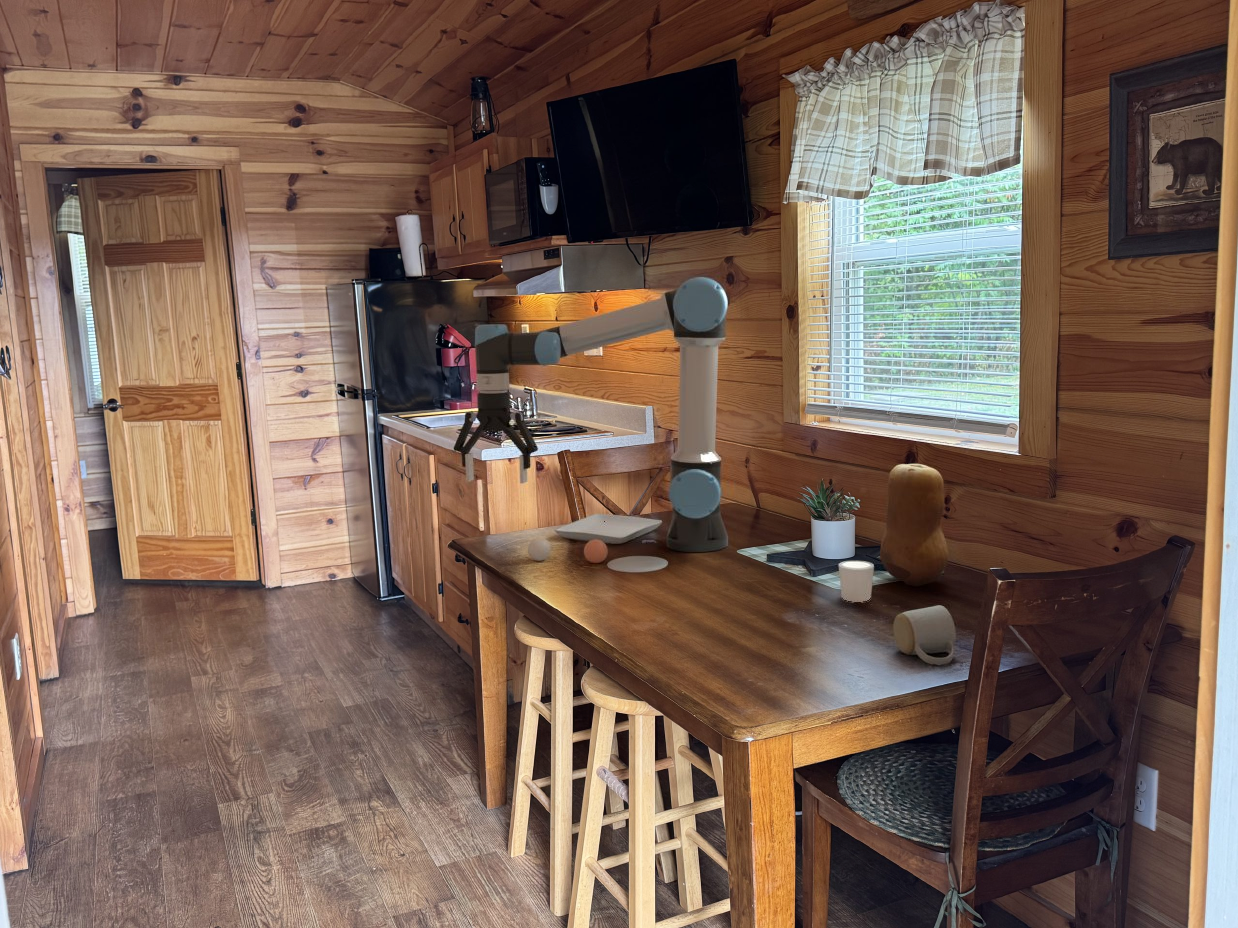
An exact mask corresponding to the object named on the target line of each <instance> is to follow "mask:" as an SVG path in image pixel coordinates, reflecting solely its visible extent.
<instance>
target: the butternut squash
mask: <svg viewBox="0 0 1238 928" xmlns="http://www.w3.org/2000/svg"><path fill="white" fill-rule="evenodd" d="M941 474H942V473H940V472H939V471H938V470H937V469H935V468H933V467H930V466H928V465H925V464H920V463H908V464H907V463H906V464H905V463H902V464H897V465H896V466H894V467H893V468H892V470H891V471H890V472H889V475H888V479H887V486H886V487H887V491H886V492H887V505H886V523H885V524H886V526H885V528H884V529H885V530H884V532H883V536H882V538H881V544H880V550H879V551H880V552H879V553H880V554H879V559H880V561H881V563H882V565H883V567H884V568H885V569H886V572H888V573H889V575H890V576H892V578H894V579H897V580H899V581H901V582H903V583H904V584H905V585H907V586H911V585H912V587H916V586H918V587H920V586H922V585H926V584H931V583H933V582H935V581H936V580H937V579H938V578H939V577H940V575H941V574H942V573H943V572H944V570H945V569H946V566H947V564H948V560H949V549H948V544H947V542H946V541H947V540H946V539H945V535H944V533H943V531H942V526H941V523H942V522H941V520H942V517H943V513H944V506H945V492H944V490H945V488H944V487H945V485H944V483H945V482H944V478H943V476H942V475H941Z"/></svg>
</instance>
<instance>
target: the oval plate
mask: <svg viewBox="0 0 1238 928" xmlns="http://www.w3.org/2000/svg"><path fill="white" fill-rule="evenodd" d="M668 564H669V562H668V561H667V560H666V559H664V558H661V557H657V556H649V555H632V556H625V557H623V556H622V557H619V558H614V559H612V560H610V561H609V562H607V568H609V569H610V570H612V571H616V572H621V573H622V572H624V573H646V572H648V573H649V572H655V571H659V570H661V569H664V568H666V567H667V566H668Z"/></svg>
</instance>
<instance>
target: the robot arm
mask: <svg viewBox="0 0 1238 928" xmlns="http://www.w3.org/2000/svg"><path fill="white" fill-rule="evenodd" d="M728 303H729V302H728V297H727V294H726V291H725V290H724V288H723V287H722V285H721V284H720V283H718V282H717V281H716V280H714V279H713V278H710V277H704V276H697V277H692V278H690V279H687V280H686V281H684V282H682V283H681V285H680V286H679V287H678V288H675V289H673V290H670V291H665V292H663V293H662V295H661V296H660V297H659V298H657V299H652V300H649V301H646V302H642V303H638V304H635V305H634V304H633V305H630V306H627V307H623V308H620V309H616V310H612V311H609V312H605V313H602V314H598V315H594V316H592V317H587V318H583V319H580V320H577V321H576V320H575V321H572V322H569V323H566V324H562V325H558V326H555V327H554V326H553V327H550V328H547V329H542V330H538V331H534V332H530V331H529V332H509V330H508V326H507V325H506V324H502V323H501V324H499V323H498V324H492V323H491V324H479V325H477V326H476V327H475V329H474V353H475V366H476V367H475V369H476V375H475V377H476V390H477V391H479V392H477V394H476V397H477V400H476V402H477V412H474V411H472V410H471V411H467V412H464V413H465V414H464V423H463V425H462V427H461V429H460V432H459V434H458V437H457V438H456V441H455V444H454V446H453V451H455V452H459V453H460V454H461V463H462V467H463V468H465V481H466V482H467V483H469V482H473V481H474V480H475V476H474V475H475V473H474V472H475V471H474V453H473V452H471V450H472V448H473V447H474V446H475V444H476V443H478V441H479V439H480V438H481V437H482V436H483V435H484V433H485V432H487V433H488V432H497V433H499V432H503V433H504V434H505V435H506V436H507V437H508V438H509V439H510V441H511V442H512V443H513V444H514V446H516V448H517V449H518V450H519V452H520V453H521V454H520V455H519V456H518V459H519V483H520V484H526V483H527V482H528V469H530V468H531V454H533V453H536V452H537V451H539V449H538V448H539V447H538V445H537V444H536V442H535V439H534V438H533V435H532V433H531V431H530V430H529V428H528V425H527V423H526V422H525V416H524V412H523V411H518V412H516V413H514V412H513V413H512V412H511V396H510V392H509V391H508V390H509V389H510V373H509V372H510V371H509V370H510V369H509V367H510V366H542V367H545V366H550V365H551V366H552V365H558V364H559V363H560V361H561V360H560V359H562V358H566V357H569V356H572V355H576V354H579V353H584V352H589V351H591V350H595V349H599V348H602V347H606V346H610V345H614V344H618V343H621V342H625V341H628V340H632V339H637V338H640V337H644V336H648V335H652V334H656V333H659V332H663V331H666V330H669V331H670V332H672V333H673V339H674V340H675V341H676V342H677V343H678V345H679V348H680V349H679V378H678V379H679V380H678V381H679V383H678V385H679V386H678V390H679V391H678V415H677V416H678V420H677V422H678V423H677V450H676V451H675V452H674V453H673V454H672V455H671V456H670V471H669V472H670V476H669V479H670V480H669V487H668V499H669V502H670V504H671V505H672V517H671V520H670V525H669V528H668V531H667V533H666V547H667V548H668V549H670V550H672V551H678V552H685V553H705V552H707V553H708V552H714V551H719V550H722V549H725V548H726V547H728V546H729V537H728V532H727V530H726V526H725V524H724V520H723V519H722V515H721V499H722V486H721V482H722V480H721V479H722V477H721V476H722V457H721V456H720V455H719V454H718V453H717V452H716V433H717V432H716V427H717V426H716V425H717V404H718V403H717V401H718V400H717V398H718V397H717V395H718V366H719V365H718V363H719V346H720V345H721V344H722V342H724V341H725V340H726V330H727V329H726V327H727V311H728V305H729V304H728ZM476 419H477V422H478V423H479V425H477V427H476V429H475V431H474V432H473V434H472V435H471V436H470V437H469V439H468V436H469V434H470V432H471V429H472V426H473V424H474V422H475V421H476ZM511 420H513V422H514V423H515V425H516V427H517V428H518V430H519V433H520V434H521V436H522V438H523V439H522V438H521V436H520V435H519V434H518V433H517V431H516V430H514V427H513V426H512V425H511V423H510V422H511ZM467 439H468V440H467Z"/></svg>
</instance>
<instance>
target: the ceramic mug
mask: <svg viewBox="0 0 1238 928" xmlns="http://www.w3.org/2000/svg"><path fill="white" fill-rule="evenodd" d="M892 624H893V627H892V628H893V629H892V631H893V637H894V641H895V644H896V646H897V648H898V649H899V650H900V652H902V653H904V654H905V655H909V656H910V655H911V656H918V658H920V659H921V660H922V661H923V662H925V663H927V664H929V665H933V664H945V665H947V664H946V663H948V664H949V663H951V662H952V660H953V657H954V653H955V649H954V648H955V645H956V640H957V633H956V632H957V630H956V627H955V623H954V620H953V617H952V615H951V613H950V612H949V611H948V609H947V608H946V607H945V606H943V605H939V604H938V605H934V606H929V607H924V608H918V609H912V610H907V611H904V612H902V613H899V614H897V615H896V617H895V618H894V621H893V623H892ZM940 652H941V653H949V654H948V655H947V656H946V657H934V656H931V655H928V654H927V653H929V654H938V653H939V654H940Z"/></svg>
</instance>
